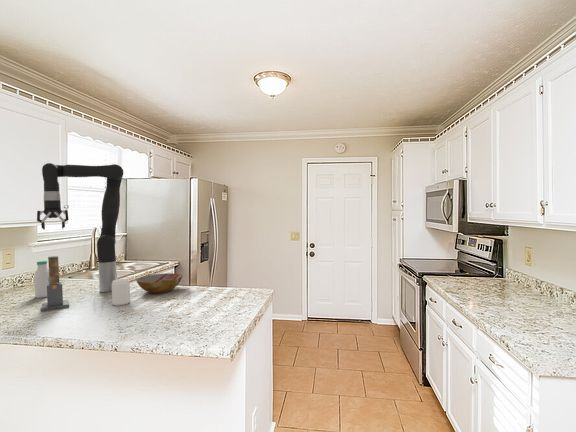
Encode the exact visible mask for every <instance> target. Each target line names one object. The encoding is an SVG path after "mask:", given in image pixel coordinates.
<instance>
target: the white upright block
mask: <svg viewBox="0 0 576 432" xmlns="http://www.w3.org/2000/svg"><path fill="white" fill-rule="evenodd" d="M130 283H131V282H130V280H129V279H128V278H118V279H117V280H113V282H112V291H111V302H112V305H113V306H117V307H118V306H124V305H127V304H130V302H131V291H130V290H131V287H130V285H131V284H130Z"/></svg>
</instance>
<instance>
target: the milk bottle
mask: <svg viewBox="0 0 576 432" xmlns="http://www.w3.org/2000/svg"><path fill="white" fill-rule="evenodd" d="M36 266H37V268H36V271H35V273H34V277H33V281H34V282H33V283H34V284H33V285H34V297H35V299H36V298H37V299H40V298H47V284H49V267H48V261H47V260H39V261H37V262H36Z"/></svg>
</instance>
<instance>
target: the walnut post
mask: <svg viewBox="0 0 576 432" xmlns="http://www.w3.org/2000/svg"><path fill="white" fill-rule="evenodd" d="M47 258H48V259H47V260H48V261H47V263H48V270H49V285H57V284H60V283H59V282H60V268H59V265H60V263H59V256H58V255H55V256H53V255H52V256H48V257H47Z"/></svg>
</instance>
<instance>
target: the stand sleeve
mask: <svg viewBox="0 0 576 432" xmlns="http://www.w3.org/2000/svg"><path fill="white" fill-rule="evenodd" d="M59 283H60V284H57V285H49V284H47V297H46V299H47V300H46V301H47V302H46V303H45V302H43V303H41V310H40V311H41V312H49V311H55V310H60V309H61V310H62V309H66V308H70V302H69V299H65V300H64V296H63V295H64V294H63V293H64V292H63V291H64V290H63V281H59Z"/></svg>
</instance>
